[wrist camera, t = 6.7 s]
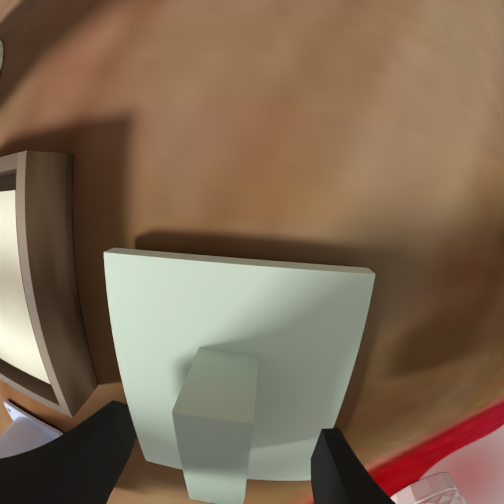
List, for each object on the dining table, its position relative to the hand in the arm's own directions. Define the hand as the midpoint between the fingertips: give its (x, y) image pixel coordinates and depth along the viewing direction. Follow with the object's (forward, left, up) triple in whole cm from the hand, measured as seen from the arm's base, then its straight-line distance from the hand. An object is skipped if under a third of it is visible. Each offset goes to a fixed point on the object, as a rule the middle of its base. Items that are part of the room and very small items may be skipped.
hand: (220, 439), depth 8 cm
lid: (0, 0, -3) cm, 3 cm away
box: (+4, +12, -3) cm, 13 cm away
